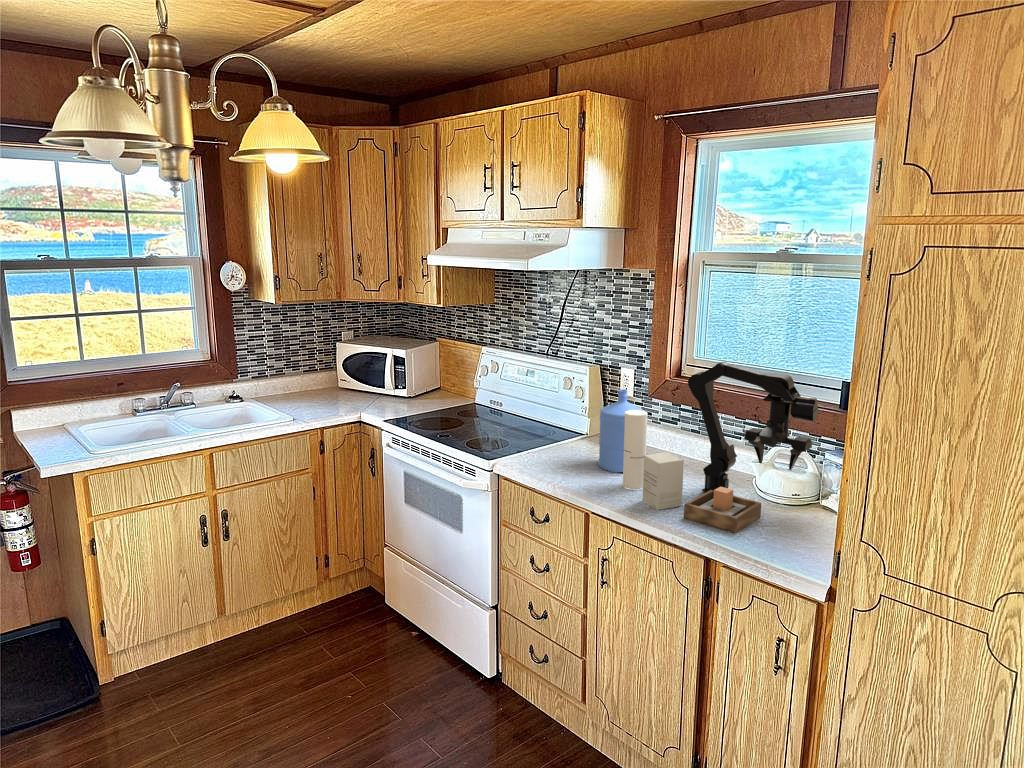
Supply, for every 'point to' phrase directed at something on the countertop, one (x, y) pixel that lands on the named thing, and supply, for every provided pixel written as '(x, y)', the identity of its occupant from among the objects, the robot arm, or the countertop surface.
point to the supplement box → (663, 480)
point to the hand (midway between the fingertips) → (775, 466)
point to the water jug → (613, 433)
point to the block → (723, 498)
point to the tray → (722, 517)
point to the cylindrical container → (634, 448)
